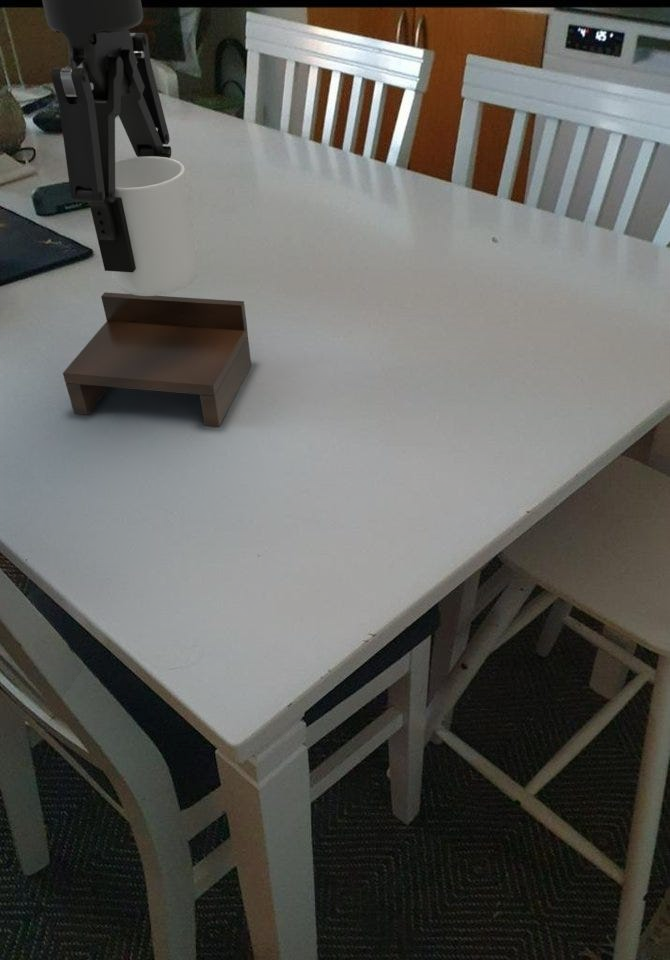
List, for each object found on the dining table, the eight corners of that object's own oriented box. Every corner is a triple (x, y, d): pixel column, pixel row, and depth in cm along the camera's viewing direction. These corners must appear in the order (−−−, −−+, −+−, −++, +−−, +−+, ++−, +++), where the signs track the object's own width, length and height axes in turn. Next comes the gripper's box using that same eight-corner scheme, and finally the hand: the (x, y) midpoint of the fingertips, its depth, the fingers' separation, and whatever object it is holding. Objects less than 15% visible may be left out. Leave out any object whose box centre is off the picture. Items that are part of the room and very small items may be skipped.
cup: (138, 306, 74) (115, 196, 67) (82, 263, 81) (57, 160, 75) (216, 279, 77) (201, 172, 71) (156, 240, 85) (138, 140, 78)
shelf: (74, 413, 85) (54, 347, 80) (119, 355, 94) (104, 292, 89) (219, 427, 82) (208, 359, 77) (251, 365, 91) (244, 301, 86)
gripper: (67, -7, 54) (133, 303, 68) (180, -51, 70) (214, 206, 84) (-34, -6, 55) (51, 297, 69) (99, -50, 71) (146, 203, 86)
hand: (140, 247), depth 77 cm, fingers closed on cup, 9 cm apart
